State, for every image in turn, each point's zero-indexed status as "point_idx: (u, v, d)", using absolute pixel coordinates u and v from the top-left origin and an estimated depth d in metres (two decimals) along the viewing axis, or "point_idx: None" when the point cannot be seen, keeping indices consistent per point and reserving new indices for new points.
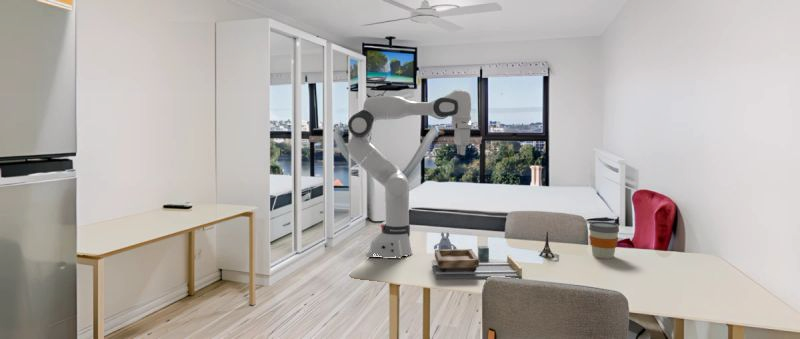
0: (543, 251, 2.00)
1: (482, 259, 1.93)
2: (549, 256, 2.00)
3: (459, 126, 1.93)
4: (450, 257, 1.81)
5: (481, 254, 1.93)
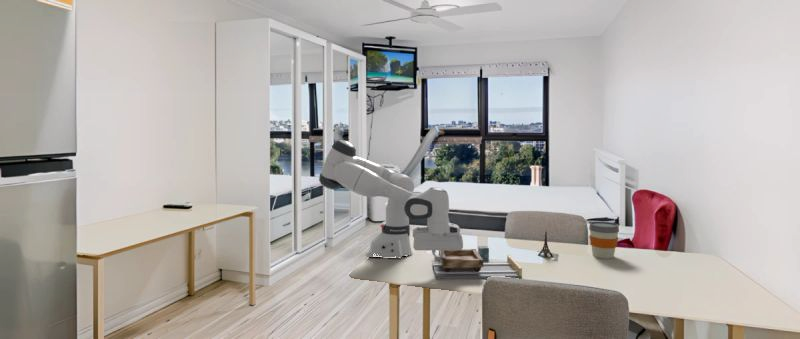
0: (542, 251, 2.01)
1: None
2: (548, 256, 2.00)
3: None
4: (454, 257, 1.81)
5: (481, 254, 1.93)
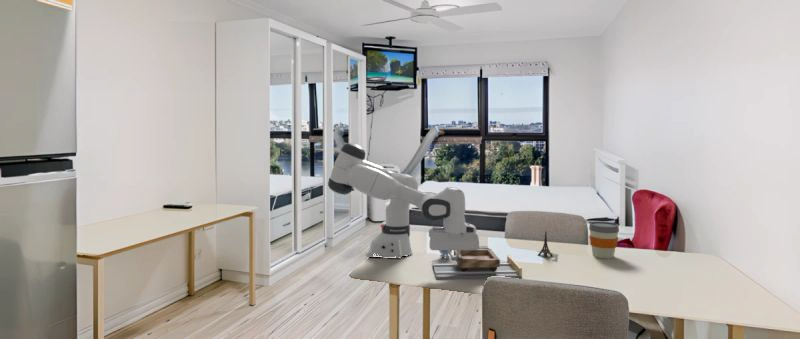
0: (542, 251, 2.01)
1: None
2: (548, 256, 2.01)
3: None
4: (470, 257, 1.82)
5: None
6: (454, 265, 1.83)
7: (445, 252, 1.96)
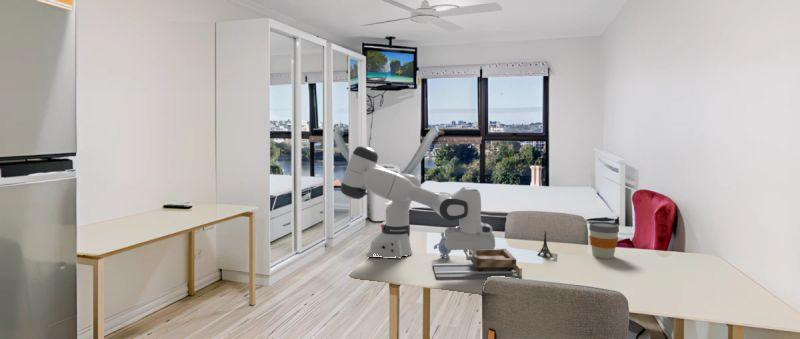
0: (541, 251, 2.01)
1: None
2: (547, 256, 2.01)
3: None
4: (485, 257, 1.82)
5: None
6: (454, 265, 1.83)
7: (445, 252, 1.96)
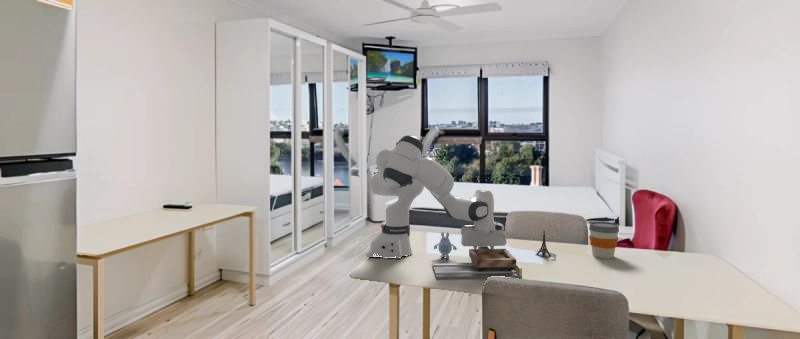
0: (540, 250, 2.01)
1: None
2: (546, 255, 2.01)
3: None
4: (485, 257, 1.82)
5: None
6: (454, 265, 1.83)
7: (445, 252, 1.96)
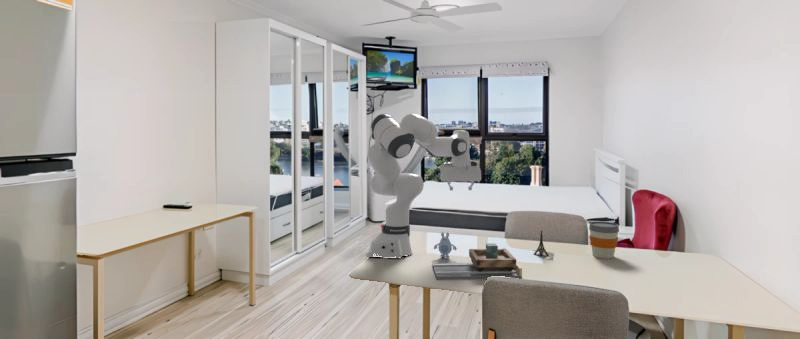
0: (537, 250, 2.02)
1: (490, 258, 1.77)
2: (543, 255, 2.02)
3: None
4: (485, 257, 1.82)
5: (489, 252, 1.77)
6: (454, 265, 1.83)
7: (445, 252, 1.96)
